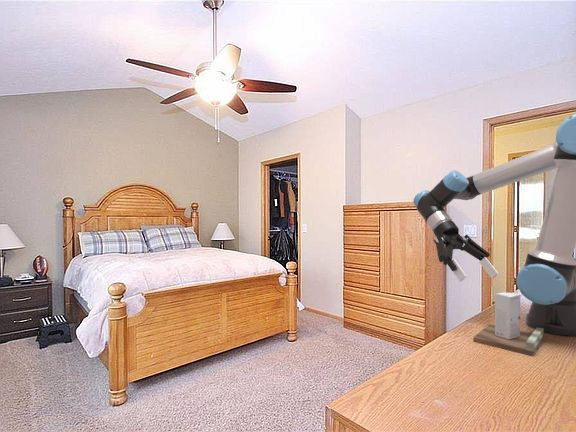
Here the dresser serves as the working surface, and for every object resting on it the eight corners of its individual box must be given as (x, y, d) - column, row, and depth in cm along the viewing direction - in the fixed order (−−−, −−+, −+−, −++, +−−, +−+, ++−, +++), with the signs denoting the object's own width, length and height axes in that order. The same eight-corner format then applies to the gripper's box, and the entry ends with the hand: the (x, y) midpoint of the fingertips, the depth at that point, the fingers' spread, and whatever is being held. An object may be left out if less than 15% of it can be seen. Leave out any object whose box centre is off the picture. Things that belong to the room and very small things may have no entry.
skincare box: (510, 340, 97) (510, 297, 97) (493, 335, 101) (494, 293, 101) (521, 336, 100) (521, 294, 100) (504, 331, 104) (505, 291, 104)
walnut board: (489, 328, 111) (489, 318, 111) (543, 339, 101) (543, 328, 101) (473, 341, 99) (473, 330, 99) (532, 356, 89) (533, 343, 89)
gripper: (463, 233, 129) (499, 281, 116) (409, 234, 120) (442, 287, 106) (475, 219, 124) (515, 268, 111) (420, 219, 115) (456, 272, 101)
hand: (479, 277), depth 109 cm, fingers open, 13 cm apart
